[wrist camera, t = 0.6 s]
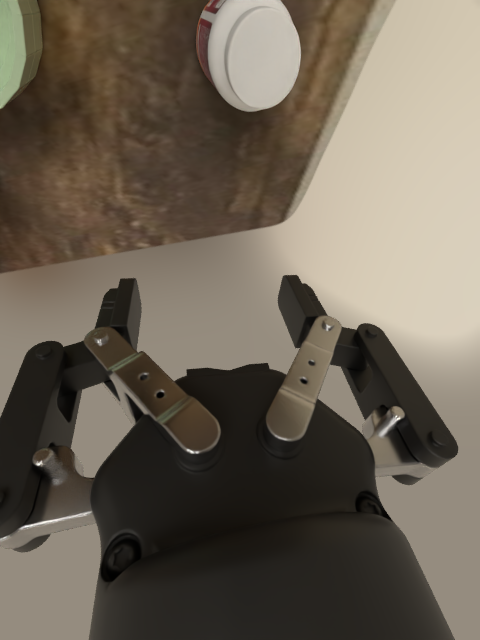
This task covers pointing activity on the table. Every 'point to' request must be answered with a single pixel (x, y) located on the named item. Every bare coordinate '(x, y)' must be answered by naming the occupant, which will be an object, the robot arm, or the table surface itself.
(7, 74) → the bowl
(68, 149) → the table surface
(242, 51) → the pill bottle
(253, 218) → the table surface
